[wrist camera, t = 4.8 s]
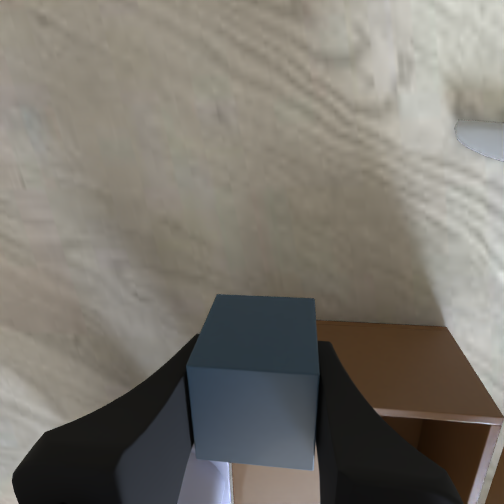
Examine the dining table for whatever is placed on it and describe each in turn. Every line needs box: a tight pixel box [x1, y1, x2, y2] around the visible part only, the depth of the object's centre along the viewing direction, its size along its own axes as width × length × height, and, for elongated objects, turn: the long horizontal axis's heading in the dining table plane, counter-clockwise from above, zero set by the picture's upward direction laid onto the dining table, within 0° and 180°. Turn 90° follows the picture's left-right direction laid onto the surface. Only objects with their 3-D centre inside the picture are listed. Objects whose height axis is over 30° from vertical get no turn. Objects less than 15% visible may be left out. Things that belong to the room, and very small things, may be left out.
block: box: [186, 294, 320, 471], centre depth 14 cm, size 4×4×4 cm
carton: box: [232, 320, 504, 504], centre depth 23 cm, size 13×11×8 cm
